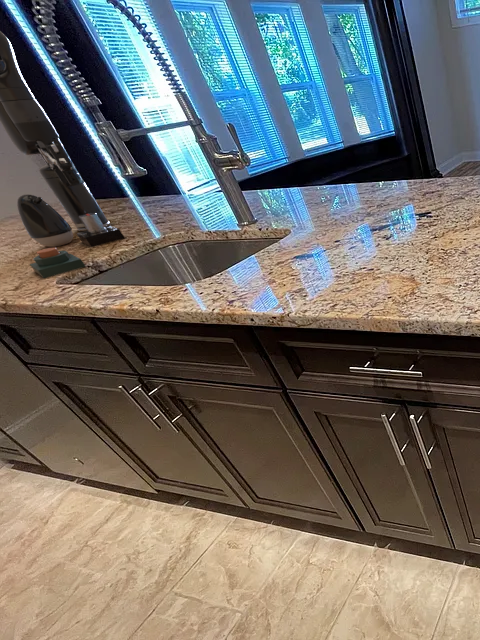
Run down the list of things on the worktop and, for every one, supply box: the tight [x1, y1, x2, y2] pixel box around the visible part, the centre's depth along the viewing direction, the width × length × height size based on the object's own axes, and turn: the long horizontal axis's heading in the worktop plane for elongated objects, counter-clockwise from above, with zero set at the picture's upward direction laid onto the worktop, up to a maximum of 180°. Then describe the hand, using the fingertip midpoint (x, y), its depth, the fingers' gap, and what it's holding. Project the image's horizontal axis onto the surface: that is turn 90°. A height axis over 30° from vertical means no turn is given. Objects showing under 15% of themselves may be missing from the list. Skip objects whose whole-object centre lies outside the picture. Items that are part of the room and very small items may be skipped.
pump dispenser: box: [16, 193, 74, 248], centre depth 133 cm, size 10×10×15 cm
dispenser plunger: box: [36, 247, 60, 258], centre depth 113 cm, size 4×4×2 cm
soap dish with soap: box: [29, 250, 86, 279], centre depth 114 cm, size 10×9×4 cm
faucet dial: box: [79, 213, 106, 233], centre depth 134 cm, size 4×4×5 cm
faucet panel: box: [76, 225, 125, 248], centre depth 136 cm, size 10×9×3 cm
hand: (71, 183), depth 126 cm, fingers open, 8 cm apart
